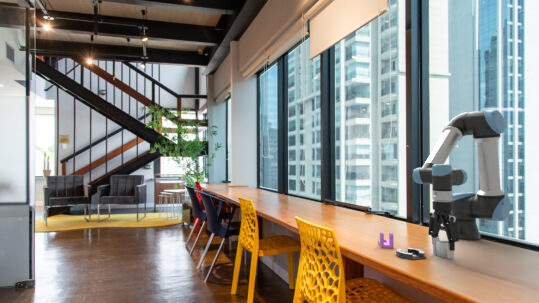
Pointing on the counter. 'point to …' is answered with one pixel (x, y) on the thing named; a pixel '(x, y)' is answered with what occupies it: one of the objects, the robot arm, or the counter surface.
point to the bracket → (386, 241)
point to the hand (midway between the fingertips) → (443, 255)
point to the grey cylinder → (441, 248)
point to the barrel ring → (410, 253)
